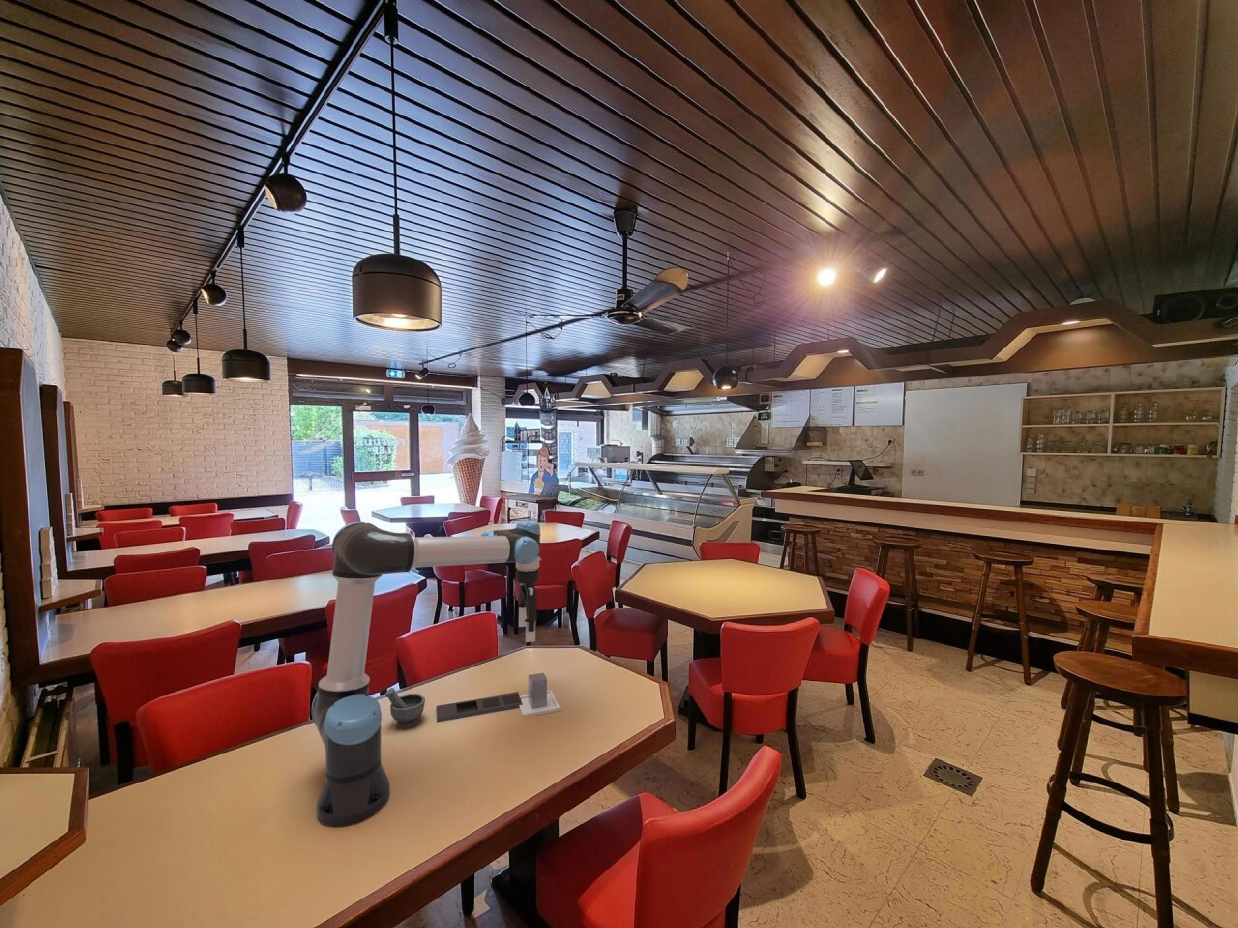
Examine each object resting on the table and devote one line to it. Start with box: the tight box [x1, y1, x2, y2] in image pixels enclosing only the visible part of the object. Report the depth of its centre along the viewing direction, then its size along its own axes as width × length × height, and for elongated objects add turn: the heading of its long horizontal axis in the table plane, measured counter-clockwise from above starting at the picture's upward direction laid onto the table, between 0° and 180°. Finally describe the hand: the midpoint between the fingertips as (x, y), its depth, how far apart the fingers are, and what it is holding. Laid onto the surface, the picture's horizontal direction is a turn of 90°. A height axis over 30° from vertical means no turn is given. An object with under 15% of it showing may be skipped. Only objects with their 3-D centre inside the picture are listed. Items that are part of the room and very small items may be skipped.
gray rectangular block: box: [528, 672, 548, 709], centre depth 163 cm, size 5×5×9 cm
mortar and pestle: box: [384, 687, 426, 729], centre depth 151 cm, size 11×9×12 cm
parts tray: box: [518, 690, 561, 718], centre depth 163 cm, size 12×12×1 cm
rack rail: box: [436, 691, 523, 723], centre depth 160 cm, size 8×26×2 cm, turn 111°
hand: (526, 633), depth 161 cm, fingers open, 13 cm apart
